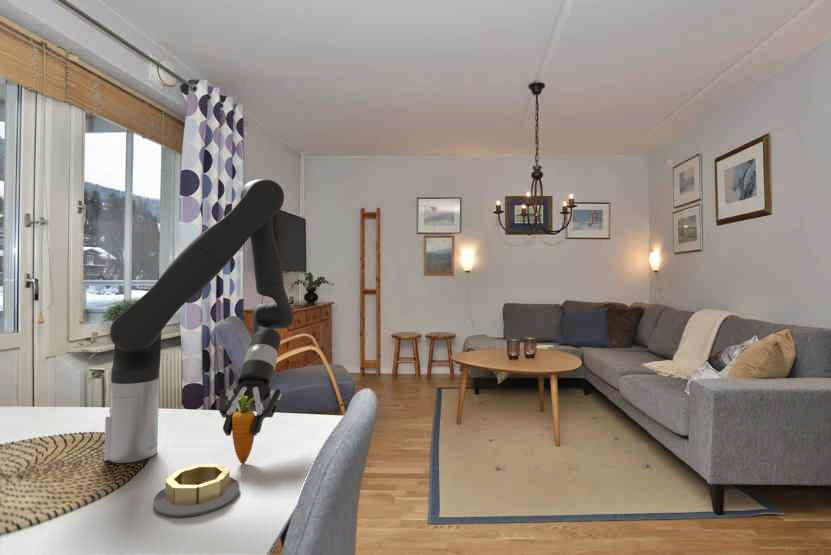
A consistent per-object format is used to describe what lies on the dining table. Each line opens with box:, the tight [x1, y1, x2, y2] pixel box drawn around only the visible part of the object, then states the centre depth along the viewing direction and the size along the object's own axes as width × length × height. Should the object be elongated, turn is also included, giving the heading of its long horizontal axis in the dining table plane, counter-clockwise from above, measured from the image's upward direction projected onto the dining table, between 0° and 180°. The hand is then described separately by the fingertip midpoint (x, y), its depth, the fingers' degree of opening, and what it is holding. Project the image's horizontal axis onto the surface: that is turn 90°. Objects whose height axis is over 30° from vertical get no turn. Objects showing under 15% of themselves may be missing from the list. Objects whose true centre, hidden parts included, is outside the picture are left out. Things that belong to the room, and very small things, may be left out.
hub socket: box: [153, 463, 240, 519], centre depth 80 cm, size 14×14×4 cm
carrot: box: [231, 395, 256, 465], centre depth 95 cm, size 5×5×15 cm
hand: (240, 433), depth 93 cm, fingers closed on carrot, 5 cm apart
